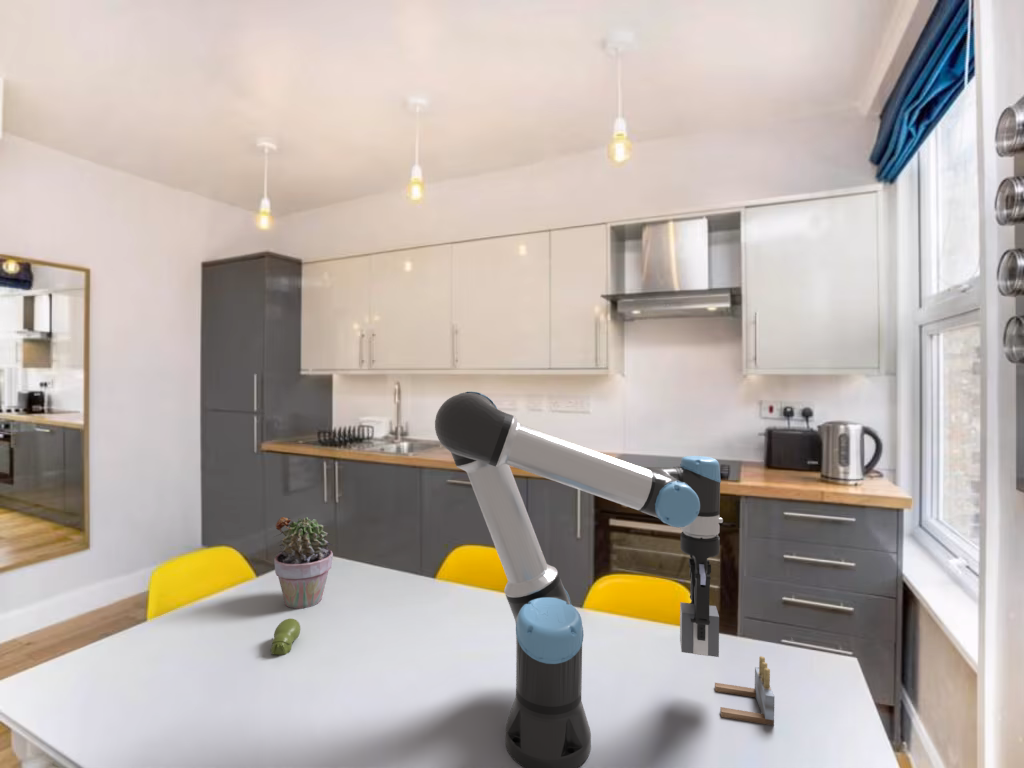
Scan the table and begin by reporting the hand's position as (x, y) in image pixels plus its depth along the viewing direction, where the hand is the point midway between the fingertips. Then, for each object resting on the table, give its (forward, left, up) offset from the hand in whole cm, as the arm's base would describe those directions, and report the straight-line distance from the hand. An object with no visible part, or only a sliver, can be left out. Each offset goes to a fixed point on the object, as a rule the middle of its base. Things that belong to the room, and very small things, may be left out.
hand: (699, 646), depth 105 cm
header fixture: (0, -8, -11) cm, 13 cm away
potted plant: (+18, +105, -11) cm, 107 cm away
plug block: (0, 0, 0) cm, 0 cm away
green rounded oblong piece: (-6, +94, -11) cm, 95 cm away
